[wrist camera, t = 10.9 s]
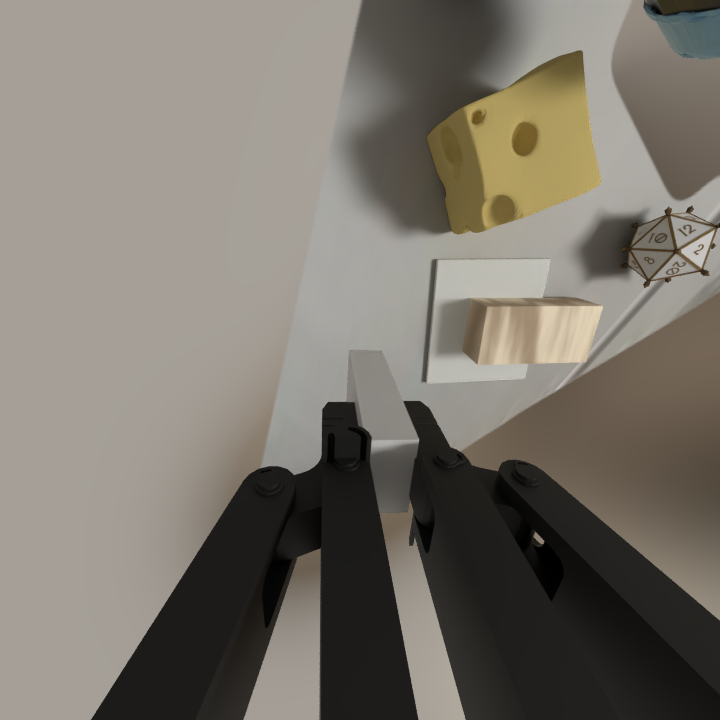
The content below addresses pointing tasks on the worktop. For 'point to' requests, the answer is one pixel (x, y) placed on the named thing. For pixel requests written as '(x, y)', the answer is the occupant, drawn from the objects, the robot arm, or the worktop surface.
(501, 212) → the cheese
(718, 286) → the worktop surface
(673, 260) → the game die
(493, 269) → the rubber mat
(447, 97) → the worktop surface
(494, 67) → the worktop surface
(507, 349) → the maple block
